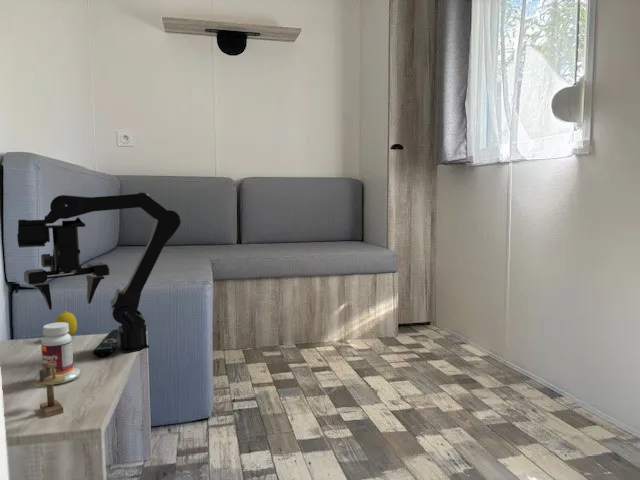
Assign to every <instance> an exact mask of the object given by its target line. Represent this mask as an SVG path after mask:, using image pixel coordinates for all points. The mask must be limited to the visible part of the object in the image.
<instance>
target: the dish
mask: <svg viewBox="0 0 640 480" xmlns="http://www.w3.org/2000/svg"><path fill="white" fill-rule="evenodd" d="M80 376H81V370H80V368H78V367H75V366H73V372H72V373H70V374H69V375H66V376H65V380H64V381H63V382H61V383H58V384H57V385H59V384H65V383H67V382H71V381H73V380H76V379H77V378H79V377H80ZM39 378H40V376H39V373H38V374H37V375H35V380H37V379H39Z"/></svg>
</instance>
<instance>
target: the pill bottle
mask: <svg viewBox="0 0 640 480" xmlns="http://www.w3.org/2000/svg"><path fill="white" fill-rule="evenodd" d="M42 331H43V333H42V334H43V335H44V337H42V338H41V341H40V342H41V345H40V346H41V357H42V358H41V362H45V361H47V362H52V363H56V365H57V367H55V375H64V376H66V375H69V374H70V373H72V372H73V367H74V359H73V339H72V335H71V336H70V335H69V334H67V333H68V332H69V325H68V323H66V322H57V323H56V322H51V323H48V324H45V325H43V327H42Z"/></svg>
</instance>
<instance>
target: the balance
mask: <svg viewBox="0 0 640 480" xmlns="http://www.w3.org/2000/svg"><path fill="white" fill-rule="evenodd" d="M40 366H41V367H42V369H40V370H39V373H38V374H39V376H40V378H39V379H37V380H36V379H35V380H34V385H35V386H37V387H44V386H46V399H47V400H46V401H44V402H40V403H39V409H40V411H41V412H42V414H43V415H44V416H45V417H46V418H48V417H52V416H56V415H59V414H63V413H64V407H63V406H62V404H61V403H60V402H59V400H57V399H55V389H54V385H59V384H58V383H61V382H63V381H64V380H65V376H64V375H55V367H57V365H56V363H52V362H47V361H45V362H42V361H41V362H40ZM61 384H62V383H61Z"/></svg>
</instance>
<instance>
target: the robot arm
mask: <svg viewBox="0 0 640 480" xmlns="http://www.w3.org/2000/svg"><path fill="white" fill-rule="evenodd" d="M133 208H134V209H135V208H136V209H137V208H140V209H142V211H144V212H145V213H146V214H148V215H149V216H150V218H151V217H152V219H154V220H153V224H152V229H151V234H150V237H149V240H148V242H147V244H146V247H145V248H144V250H143V252H142V254H141V256H140V257H139V260H138V262H137V265H136V266H135V268H134V271H133V273H132V274H131V277H130V279H129V280H128V283H127V285H125V287H124V288H123V289H122V290H121V289H119V288H116V291H115V293H114V294H115V295H114V297H113V298H112V300H110V305H111V308H110V310H111V315H112V317H113V320H114V321H115V322H117V323H118V324H121V325H119V326H118V331H117V333H116V340H117V341H116V342H117V347H116V348H118V349H119V350H120V351H122V352H123V353H125V354H126V353H132V352H136V351H140V350H146V349H149V348H150V344H148V340H147V324H146V319H145V317H144V316H143V313H142V312H141V311H139V309H138V308H139V303H140V301H141V296H142V291H143V289H144V288H145V286H146V284H147V281H148V279H149V277H150V276H151V273H152V271H153V269H154V267H155V264H156V263H157V260H158V259H159V257H160V255H161V253H162V251H163V248H164V246H165V245H166V244H167V243H168V242H169V240H170V239H171V238H172V237H173V236H174V234H175V233H176V232H177V231H178V229H179V228H180V225H181V224H182V223H181V222H182V221H181V217H180V215H179V214H178V213H177V212H176V211H175V210H171V209H169V208H168V209H167V208H165V207H163V206H162V205H161V204H160V203H158V202H157V200H154V199H153V198H152V197H151V196H150V195H149V194H148V193H146V192H142V191H139V192H135V193H126V194H114V195H113V194H112V195H101V196H99V195H98V196H82V195H72V194H70V195H69V194H61V195H58V196H55V197H54V198H53V199H52V200H51V202H50V211H49V213H48V214H46V215H45V216H44V219H24V218H22V219H19V220H18V221H17V224H18V227H17V234H16V235H17V236H16V237H17V246H18V248H21V249H22V248H41V247H42V248H43V247H46V244H47V243H50V242H51V231H50V229H52V244H53V249H52V255H51V253H44V254H41V255H40V260H41V261H40V262H41V268H35V269H26V270H25V272H24V271H23V281H24V282H25V283H26V284H28V285H31V286H33V287H34V288H37V289H38V290H39V292H40V293H41V295H42V297H43V299H44V301H45V303H46V306H47V308H48V310H49V311H51V310H52V308H53V307H52V306H53V305H52V297H51V290H50V283H48V282H47V281H48V279H49V280H50V279H56V278H59V279H60V278H65V277H66V278H67V277H75V276H83V275H84V276H85V277H86V281H87V282H86V283H87V285H86V287H87V288H86V289H87V290H86V300H87V304H88V305H89V304H91V303H92V300H93V297H94V295H95V292H96V290H97V288H98V287H99V284H100V282H101V280H105V276H110V267H109V265H108V264H106V263H103V262H92V263H87V264H86V267H82V266H81V261H80V259H81V258H80V254H81V249H80V244H79V243H80V242H79V241H80V240H79V228H85V227H86V223H85V222H83V220H82V219H80V217H79V216H81V215H85V214H89V213H92V212H102V211H103V212H105V211H113V210H125V209H133ZM75 217H76V218H75ZM71 218H75V219H73V220H69V219H71ZM60 219H63V220H62V221H61V224H54V223H56V222H57V221H58V220H60ZM65 219H67V220H65ZM43 268H44V269H43ZM45 268H49V269H50V270H45Z"/></svg>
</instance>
